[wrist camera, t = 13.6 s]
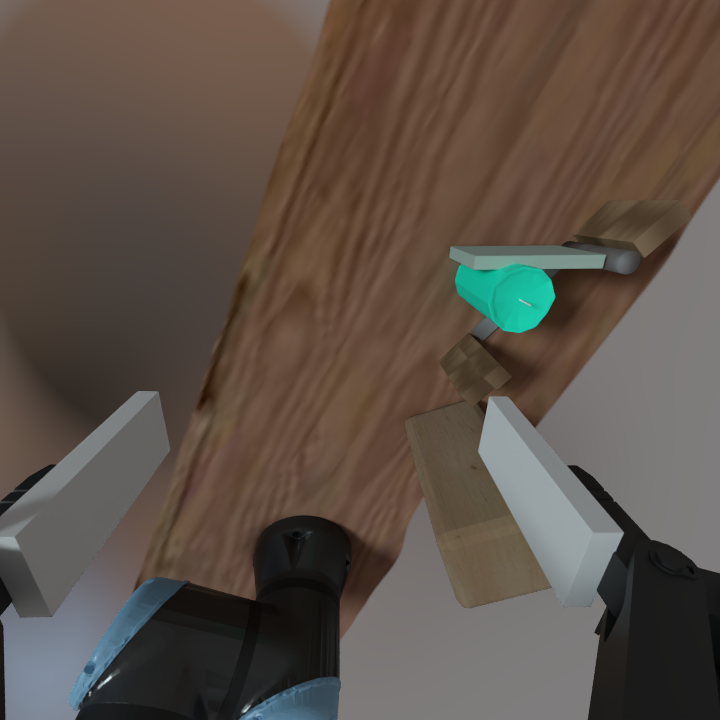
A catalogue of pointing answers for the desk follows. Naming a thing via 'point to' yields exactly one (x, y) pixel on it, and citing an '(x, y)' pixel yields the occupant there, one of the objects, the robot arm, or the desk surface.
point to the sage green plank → (525, 257)
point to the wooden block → (470, 509)
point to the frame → (599, 235)
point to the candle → (508, 294)
